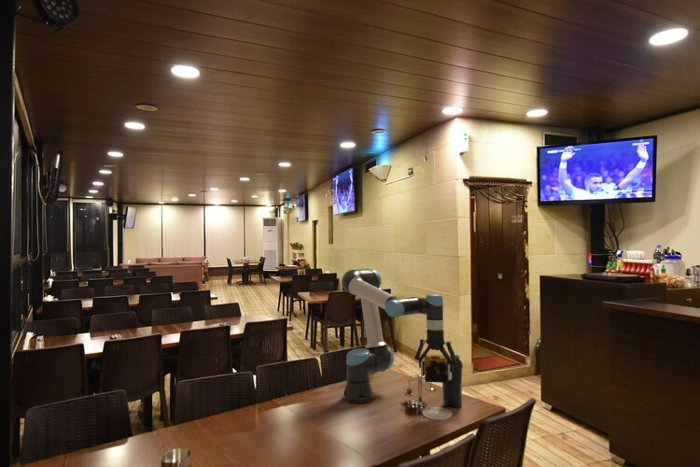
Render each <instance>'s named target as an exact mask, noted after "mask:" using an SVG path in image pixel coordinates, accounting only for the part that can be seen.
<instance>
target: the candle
mask: <svg viewBox="0 0 700 467" xmlns="http://www.w3.org/2000/svg"><path fill="white" fill-rule="evenodd" d="M423 360H424V363H425V375H424V377H425V380H424V382H426V383H430V382H432V383H441V384H442V383H448V373H447V359H446V358H445V357H444V355H443V354H426V356H425V357H424V359H423Z"/></svg>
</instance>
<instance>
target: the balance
mask: <svg viewBox="0 0 700 467" xmlns="http://www.w3.org/2000/svg"><path fill="white" fill-rule="evenodd" d="M407 381H408V388H406V391H405V392H404V393H403V394H404V396H405V397H414V396H416V394H415V392H413V389H412V388H411V382H415V381H417V397H418V399H415V400H414V401H419V402H422V401H423V402H424V403H425V405H426V406H427V405H428V404H429V402H428V401H424V400H423V381H425V376H421V374H419V375H417V377H409V378H407ZM429 383H430V386H426V387H425V391H427V392H437V388H436V387H434V386H433V385H432V383H433V382H429Z"/></svg>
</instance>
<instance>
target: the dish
mask: <svg viewBox="0 0 700 467" xmlns="http://www.w3.org/2000/svg"><path fill="white" fill-rule="evenodd" d="M422 416H423V417H424V418H426V419H430V420H434V421H445V420H449V419H451V418H452V416H453V412H452V410H450V409H449V408H447V407H440V406H430V407H426V408H423V409H422Z"/></svg>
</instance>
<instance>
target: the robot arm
mask: <svg viewBox="0 0 700 467" xmlns="http://www.w3.org/2000/svg"><path fill="white" fill-rule="evenodd" d="M341 285H342V288H343V289H344V290H345V291H346V292H347V293H348V294H351V295H354V296H355V295H357V297H358V298H360V301H361V309H362V316H363V322H364V329H365V336H366V342H367V343H366V345H365V348H355V349H352V350H349V351H348V352H347V354H346V362H345V363H346V364H345V365H346V384H345V388H344V390H343V393H342V395H343V397H342V398H343V400H344V401H345V402H346V403H351V404H366V403H369V402H371V401H373V400H374V398H375V396H374V391H373V388H372V384H371V375H374V374H377V373H382V372H383V373H384V372H386V371H388V370H390V369H391V368H392V366H393V365H394V362H395V361H394V360H395V357H394V356H395V355H394V352H393V350H392V349H391V348H390V347H388V343H387V342H386V341H384V335H383V329H382V322H381V316H380V310H379V308H382V309H383V310H385V313H386V314H387V316H388V317H391V318H399V317H403V316H410V315H417V314H418V315H419V314H420V315H426V317H425V318H426V328H427V329H426V338H421V339H420V340H419V345H418V348H417V351H416V354H415V356H414V359H415V360H417V361H418V368H419V369H420V375H421V376H422V377H425V361H424V358H425V356H426V355H428V353H429V351H430V350H433V351H439V352H441V355H444V357H445V358H446V359H447V361H448V363H449V365H448V380H451V379H452V372H453V371H454V364H456V363H458V361H457V358H456V356H455V355H456V354H455V352H454V349H453V347H452V341H451V340H448V341H445V338H444V337H445V336H444V334H445V333H444V332H445V331H444V300H443V299H444V298H443V295H442V294H438V293H437V294H436V293H428V294H426V296H425V297H419V296H409V297H407V298H399V297H398V296H395V295H393V294H391V293H389V292H387V291H385V290H382V289H380V288H381V286H382V278H381V275H380V273H379V272H378V271H377V270H375V269H372V268H361V269H349V270H347V271H346V272H345V273H344V274H343V276H342V278H341ZM425 344H426V345H427V347H426V348H425V350H424V351H423V348H424V345H425ZM444 346H446V348H447V350H448V352H447V350H446V348H445V347H444ZM422 351H423V352H422ZM421 353H422V354H421ZM450 356H451V358H452V359H451V358H450Z"/></svg>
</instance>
